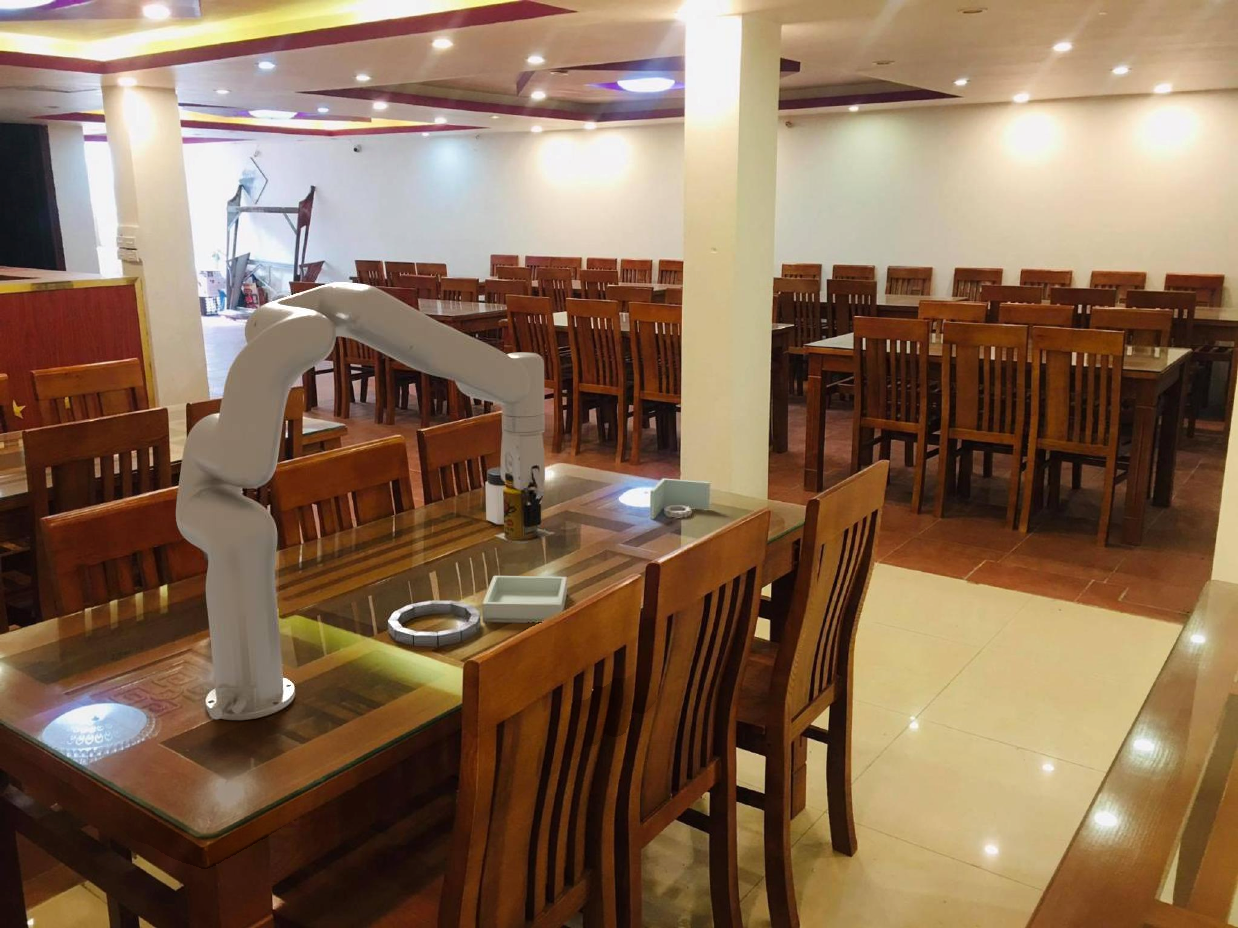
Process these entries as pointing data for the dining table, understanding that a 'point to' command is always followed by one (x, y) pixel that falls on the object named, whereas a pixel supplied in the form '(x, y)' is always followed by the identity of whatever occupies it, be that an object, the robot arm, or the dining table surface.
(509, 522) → the condiment
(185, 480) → the robot arm
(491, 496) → the jar
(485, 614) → the bin
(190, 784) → the dining table surface
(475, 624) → the collar
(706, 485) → the right angle wall
